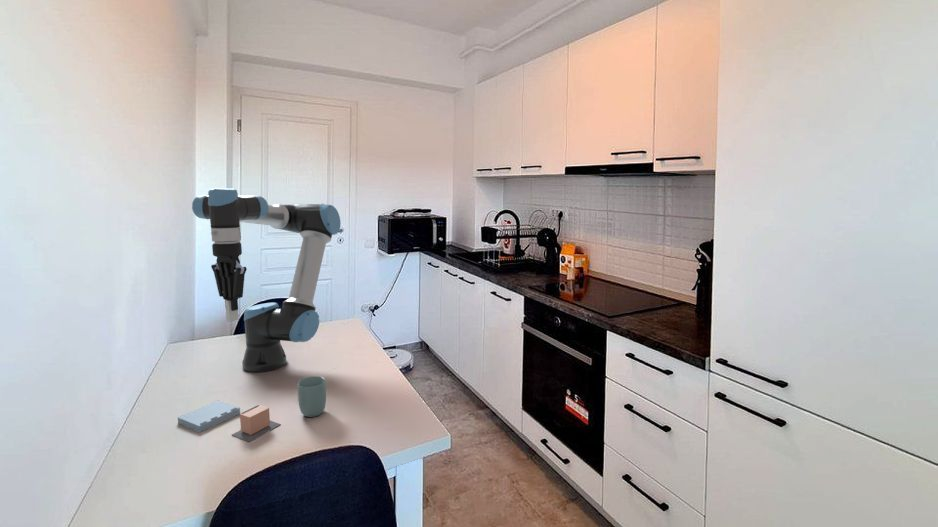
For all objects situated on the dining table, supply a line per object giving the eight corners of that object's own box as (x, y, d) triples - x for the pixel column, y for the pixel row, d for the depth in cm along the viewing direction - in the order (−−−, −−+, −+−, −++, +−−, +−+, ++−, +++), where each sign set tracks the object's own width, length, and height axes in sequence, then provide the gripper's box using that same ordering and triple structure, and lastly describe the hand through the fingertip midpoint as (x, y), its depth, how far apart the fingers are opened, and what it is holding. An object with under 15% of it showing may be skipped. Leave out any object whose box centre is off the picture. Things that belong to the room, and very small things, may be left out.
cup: (303, 407, 135) (301, 376, 134) (329, 406, 136) (328, 375, 134) (295, 420, 128) (293, 387, 126) (323, 419, 128) (322, 386, 127)
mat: (231, 435, 120) (231, 434, 120) (263, 419, 129) (263, 418, 129) (249, 442, 117) (248, 441, 117) (280, 424, 125) (280, 424, 125)
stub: (241, 431, 121) (239, 413, 120) (260, 421, 126) (259, 404, 125) (250, 435, 119) (249, 416, 118) (270, 424, 124) (268, 407, 124)
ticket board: (178, 423, 126) (177, 416, 125) (218, 405, 136) (218, 399, 136) (200, 432, 121) (199, 425, 121) (240, 413, 132) (239, 406, 131)
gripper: (200, 242, 130) (207, 320, 134) (229, 244, 124) (235, 326, 128) (224, 239, 137) (230, 314, 140) (253, 242, 131) (258, 320, 134)
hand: (232, 320), depth 134 cm, fingers closed
